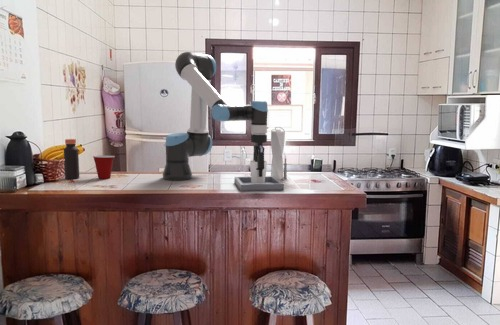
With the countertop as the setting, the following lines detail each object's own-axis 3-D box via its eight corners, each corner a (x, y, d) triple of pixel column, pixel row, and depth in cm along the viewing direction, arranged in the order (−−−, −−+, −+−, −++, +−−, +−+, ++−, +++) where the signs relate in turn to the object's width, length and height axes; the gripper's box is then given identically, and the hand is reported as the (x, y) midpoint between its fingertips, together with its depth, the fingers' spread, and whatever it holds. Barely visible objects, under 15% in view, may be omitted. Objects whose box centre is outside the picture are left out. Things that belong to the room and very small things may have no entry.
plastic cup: (119, 176, 216) (118, 154, 214) (109, 180, 206) (108, 156, 204) (100, 176, 218) (99, 153, 216) (89, 179, 208) (88, 156, 206)
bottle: (75, 179, 207) (74, 140, 204) (62, 179, 207) (60, 139, 204) (81, 177, 213) (80, 138, 210) (68, 177, 213) (66, 138, 211)
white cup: (264, 184, 192) (265, 162, 190) (248, 183, 193) (248, 162, 192) (267, 181, 199) (267, 160, 198) (251, 180, 201) (251, 159, 200)
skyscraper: (282, 181, 211) (284, 127, 207) (267, 180, 214) (268, 126, 210) (287, 178, 219) (288, 126, 215) (272, 177, 222) (273, 125, 218)
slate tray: (234, 182, 205) (234, 176, 204) (273, 182, 208) (273, 176, 208) (240, 191, 185) (240, 184, 185) (283, 190, 189) (283, 183, 188)
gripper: (271, 135, 184) (270, 185, 187) (262, 132, 204) (261, 177, 207) (255, 135, 182) (254, 186, 186) (247, 132, 202) (246, 178, 206)
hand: (258, 181), depth 196 cm, fingers closed on white cup, 7 cm apart
